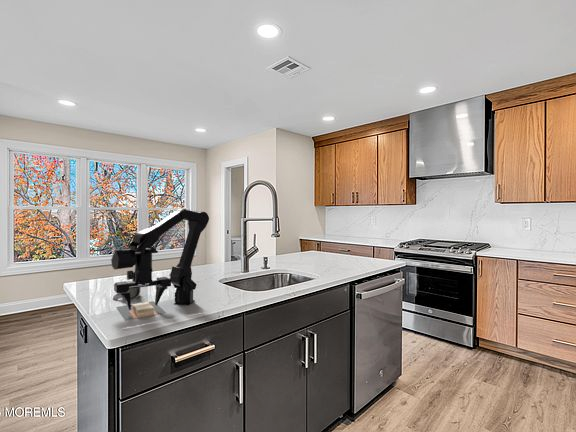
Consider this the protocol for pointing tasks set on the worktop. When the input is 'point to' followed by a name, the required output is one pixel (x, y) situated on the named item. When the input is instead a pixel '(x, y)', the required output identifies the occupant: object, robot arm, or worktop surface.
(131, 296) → the ceramic mug
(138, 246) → the robot arm
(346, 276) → the worktop surface
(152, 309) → the card box
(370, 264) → the worktop surface
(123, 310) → the mat
